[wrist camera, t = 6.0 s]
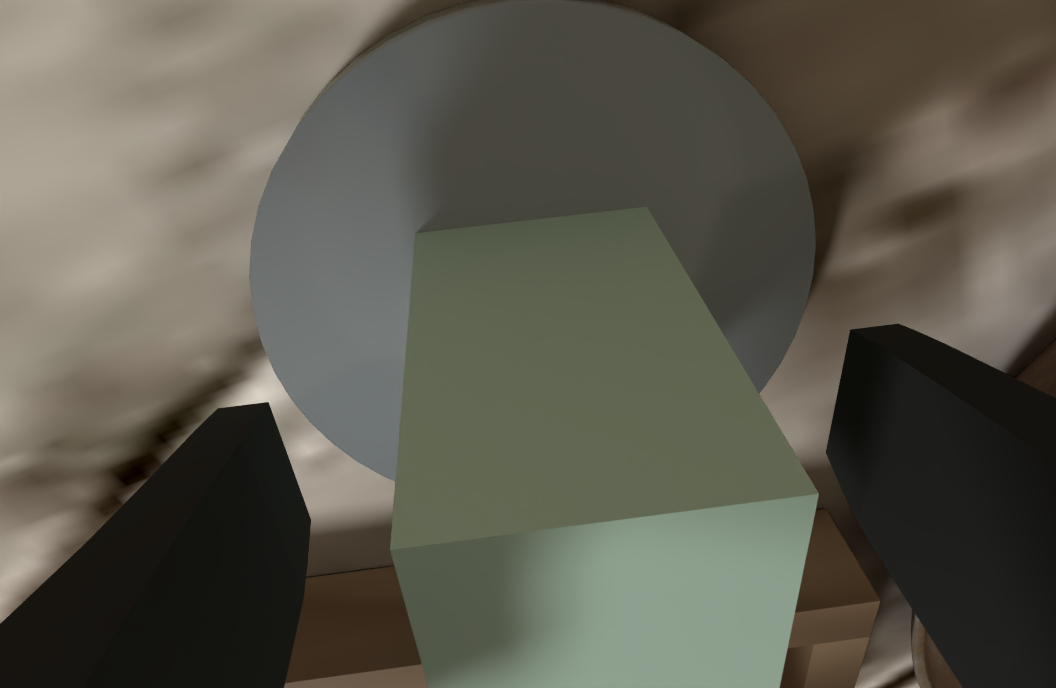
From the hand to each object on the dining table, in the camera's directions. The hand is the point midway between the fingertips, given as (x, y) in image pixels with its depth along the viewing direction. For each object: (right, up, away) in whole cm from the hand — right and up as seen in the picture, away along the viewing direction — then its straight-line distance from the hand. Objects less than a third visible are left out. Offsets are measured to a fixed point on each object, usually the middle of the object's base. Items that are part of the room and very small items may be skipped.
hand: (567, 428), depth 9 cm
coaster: (0, +2, +3) cm, 4 cm away
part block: (0, +2, +3) cm, 3 cm away
